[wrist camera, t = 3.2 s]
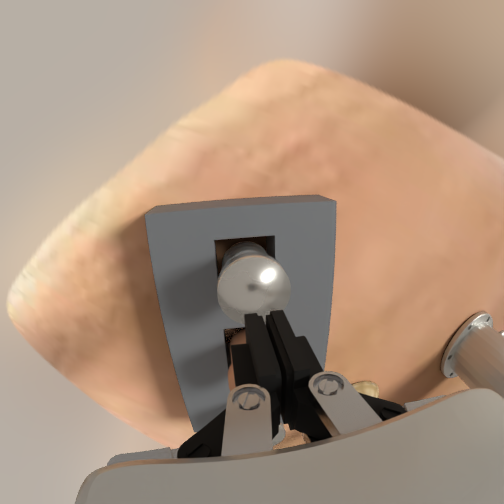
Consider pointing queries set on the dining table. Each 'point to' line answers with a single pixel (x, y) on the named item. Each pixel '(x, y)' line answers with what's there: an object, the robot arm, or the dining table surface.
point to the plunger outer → (251, 282)
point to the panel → (206, 275)
